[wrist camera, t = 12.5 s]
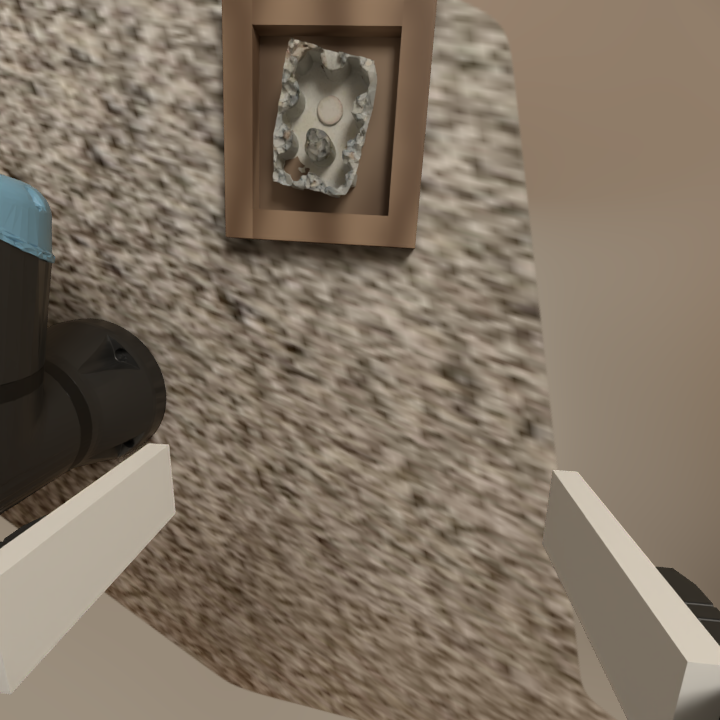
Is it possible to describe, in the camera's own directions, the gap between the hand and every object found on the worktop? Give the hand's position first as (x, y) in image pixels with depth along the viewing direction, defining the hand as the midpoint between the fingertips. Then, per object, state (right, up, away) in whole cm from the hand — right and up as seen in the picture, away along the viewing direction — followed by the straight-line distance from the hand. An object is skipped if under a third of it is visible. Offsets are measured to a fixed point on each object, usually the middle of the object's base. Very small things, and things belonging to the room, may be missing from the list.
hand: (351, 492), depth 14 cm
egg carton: (-2, +24, +22) cm, 33 cm away
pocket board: (-3, +25, +23) cm, 34 cm away
